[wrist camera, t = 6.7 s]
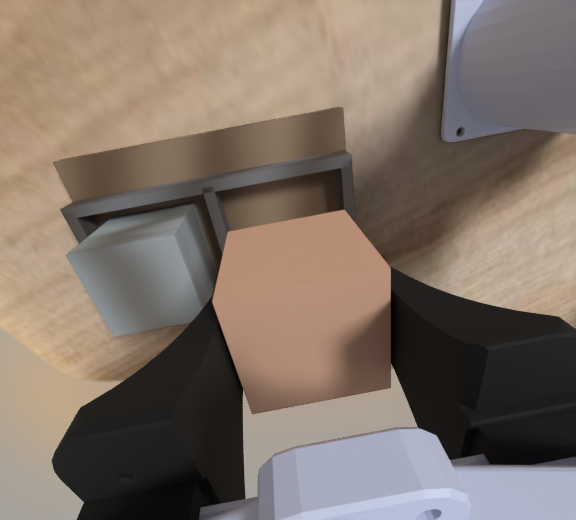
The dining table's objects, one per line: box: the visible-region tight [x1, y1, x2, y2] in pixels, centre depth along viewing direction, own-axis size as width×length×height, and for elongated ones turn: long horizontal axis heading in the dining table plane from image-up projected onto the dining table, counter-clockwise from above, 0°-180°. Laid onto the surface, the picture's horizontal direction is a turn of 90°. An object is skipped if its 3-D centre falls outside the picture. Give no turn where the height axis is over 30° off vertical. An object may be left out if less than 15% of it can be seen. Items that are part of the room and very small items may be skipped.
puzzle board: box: [53, 107, 356, 337], centre depth 17 cm, size 16×12×6 cm
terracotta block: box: [212, 210, 391, 414], centre depth 12 cm, size 5×5×5 cm
